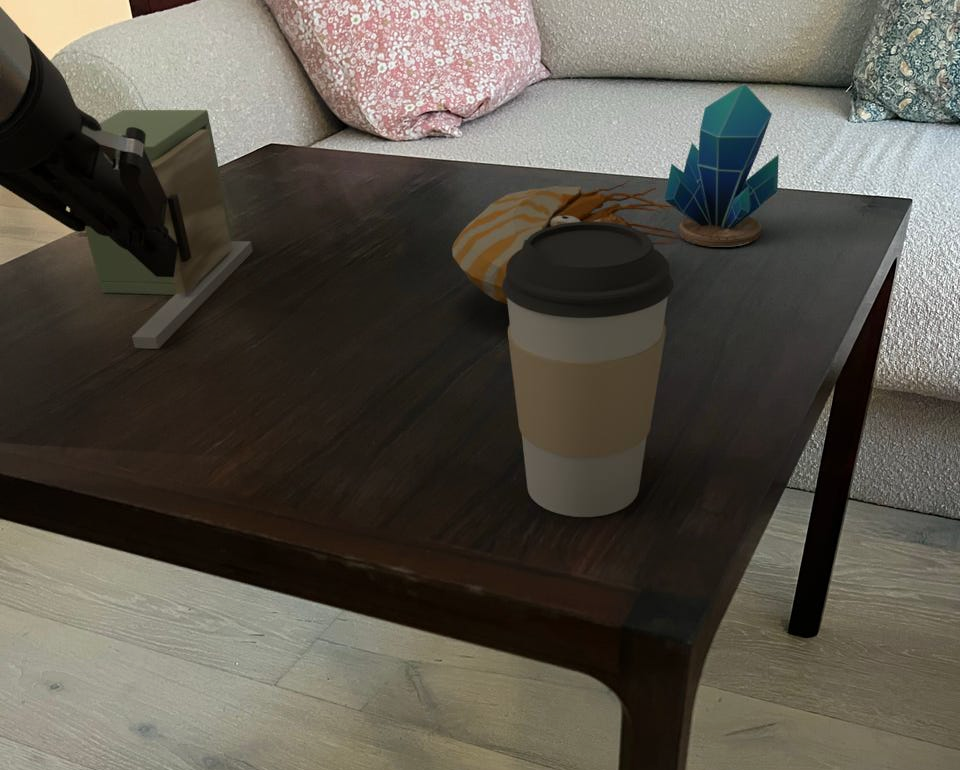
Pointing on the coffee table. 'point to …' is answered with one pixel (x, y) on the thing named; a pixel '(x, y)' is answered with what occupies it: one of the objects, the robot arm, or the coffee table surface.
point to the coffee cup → (586, 360)
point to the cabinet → (128, 272)
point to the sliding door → (193, 208)
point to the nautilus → (531, 228)
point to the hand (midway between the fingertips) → (167, 260)
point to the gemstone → (724, 173)
